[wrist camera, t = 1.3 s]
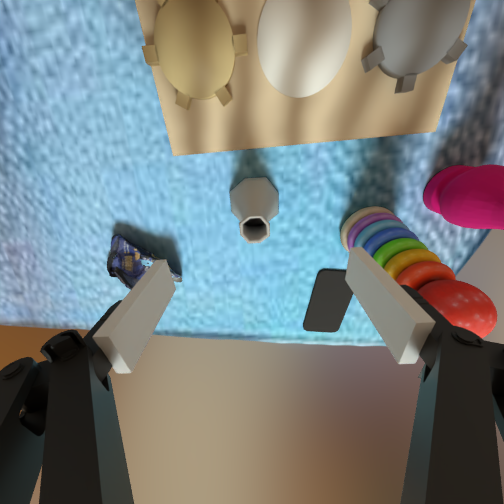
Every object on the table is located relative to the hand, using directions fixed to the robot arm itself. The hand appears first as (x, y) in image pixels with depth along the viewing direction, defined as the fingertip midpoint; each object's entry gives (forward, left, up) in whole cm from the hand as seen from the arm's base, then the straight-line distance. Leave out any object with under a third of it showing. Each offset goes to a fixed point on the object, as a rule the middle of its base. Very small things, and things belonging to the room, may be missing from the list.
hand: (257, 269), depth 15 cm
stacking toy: (+15, +8, -17) cm, 24 cm away
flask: (0, 0, -17) cm, 17 cm away
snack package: (-7, -20, -17) cm, 27 cm away
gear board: (-8, +15, -17) cm, 24 cm away
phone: (+23, -5, -17) cm, 29 cm away
